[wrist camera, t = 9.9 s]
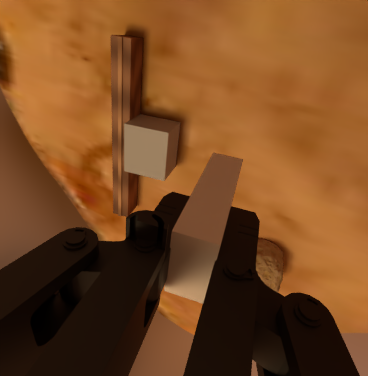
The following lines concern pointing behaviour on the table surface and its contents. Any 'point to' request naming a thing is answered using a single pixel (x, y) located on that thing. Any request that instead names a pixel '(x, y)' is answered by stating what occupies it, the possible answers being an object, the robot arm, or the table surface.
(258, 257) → the decorative object
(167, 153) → the block
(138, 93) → the brown wooden bar
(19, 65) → the table surface
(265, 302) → the robot arm
